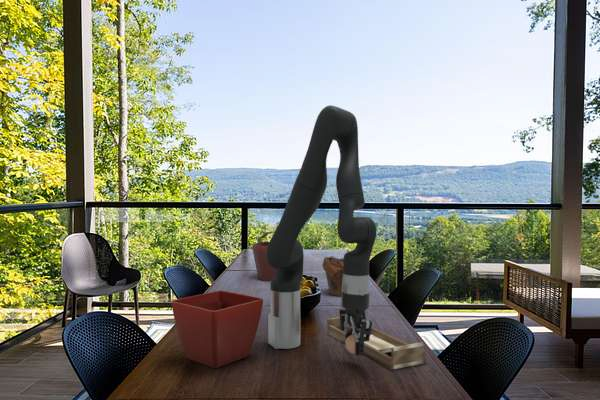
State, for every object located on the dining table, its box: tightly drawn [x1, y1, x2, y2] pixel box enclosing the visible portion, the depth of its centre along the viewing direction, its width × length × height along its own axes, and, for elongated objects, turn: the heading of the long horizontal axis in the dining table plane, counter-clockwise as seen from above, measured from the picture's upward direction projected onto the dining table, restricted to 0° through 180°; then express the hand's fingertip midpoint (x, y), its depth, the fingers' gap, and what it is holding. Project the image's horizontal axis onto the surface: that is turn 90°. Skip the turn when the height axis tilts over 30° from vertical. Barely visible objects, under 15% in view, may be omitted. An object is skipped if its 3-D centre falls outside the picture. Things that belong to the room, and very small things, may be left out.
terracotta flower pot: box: [322, 255, 344, 297], centre depth 219 cm, size 18×20×18 cm
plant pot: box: [171, 290, 264, 369], centre depth 137 cm, size 19×19×17 cm
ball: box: [344, 335, 360, 355], centre depth 131 cm, size 5×5×5 cm
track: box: [326, 316, 427, 371], centre depth 146 cm, size 12×35×6 cm, turn 25°
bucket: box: [252, 231, 277, 283], centre depth 255 cm, size 24×22×25 cm
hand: (354, 351), depth 131 cm, fingers closed on ball, 5 cm apart
